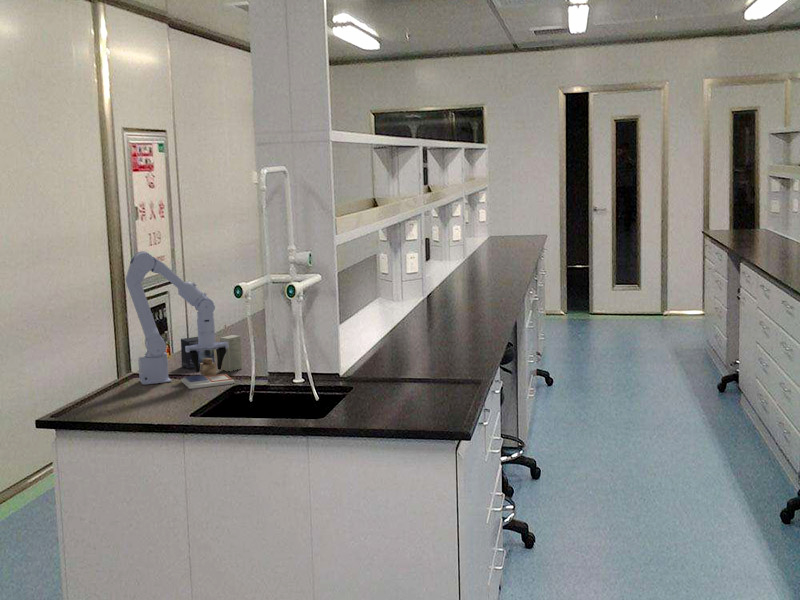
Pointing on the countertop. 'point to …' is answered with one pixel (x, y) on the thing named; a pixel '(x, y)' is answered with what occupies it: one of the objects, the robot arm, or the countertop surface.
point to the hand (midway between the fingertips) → (208, 370)
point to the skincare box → (232, 353)
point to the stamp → (207, 367)
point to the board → (207, 380)
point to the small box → (202, 354)
